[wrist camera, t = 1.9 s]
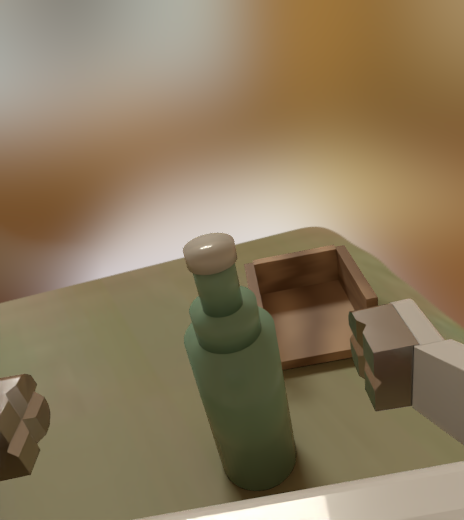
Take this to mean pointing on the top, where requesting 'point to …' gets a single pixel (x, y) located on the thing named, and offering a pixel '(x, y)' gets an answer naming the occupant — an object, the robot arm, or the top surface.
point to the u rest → (311, 302)
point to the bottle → (237, 369)
